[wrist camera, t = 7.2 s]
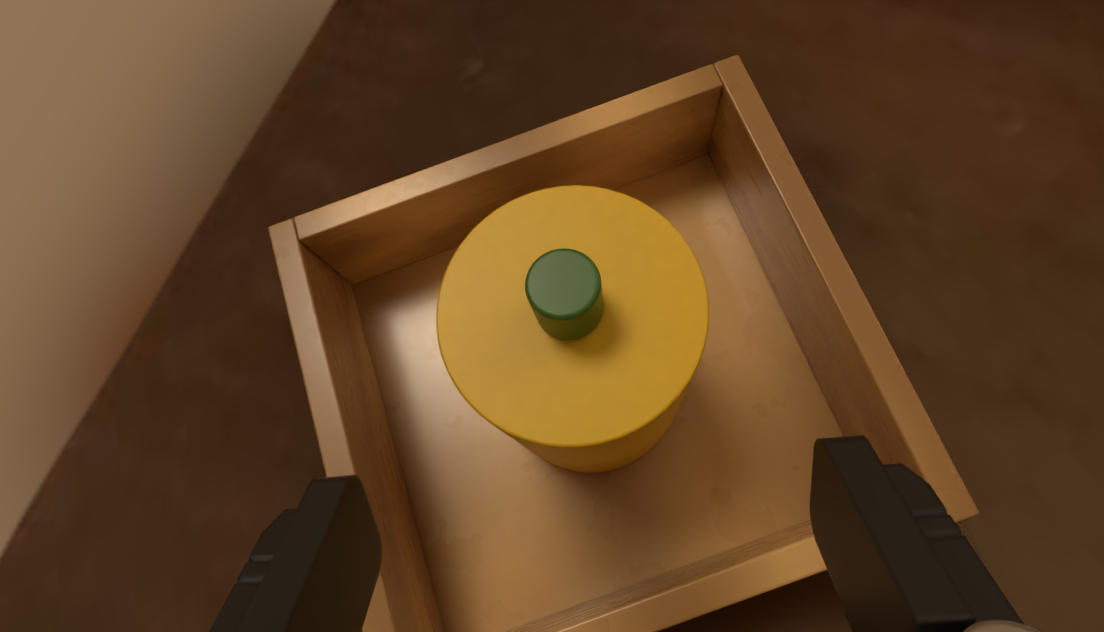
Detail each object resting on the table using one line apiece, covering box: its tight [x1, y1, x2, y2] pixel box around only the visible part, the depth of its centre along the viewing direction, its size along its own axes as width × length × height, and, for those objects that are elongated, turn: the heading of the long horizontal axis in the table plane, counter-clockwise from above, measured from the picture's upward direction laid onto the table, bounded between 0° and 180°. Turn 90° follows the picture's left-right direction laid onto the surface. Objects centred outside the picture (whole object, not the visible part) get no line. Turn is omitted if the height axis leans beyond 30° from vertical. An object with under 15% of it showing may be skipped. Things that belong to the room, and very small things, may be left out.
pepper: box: [436, 185, 709, 473], centre depth 17 cm, size 6×6×10 cm
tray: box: [268, 55, 979, 632], centre depth 20 cm, size 15×14×5 cm
